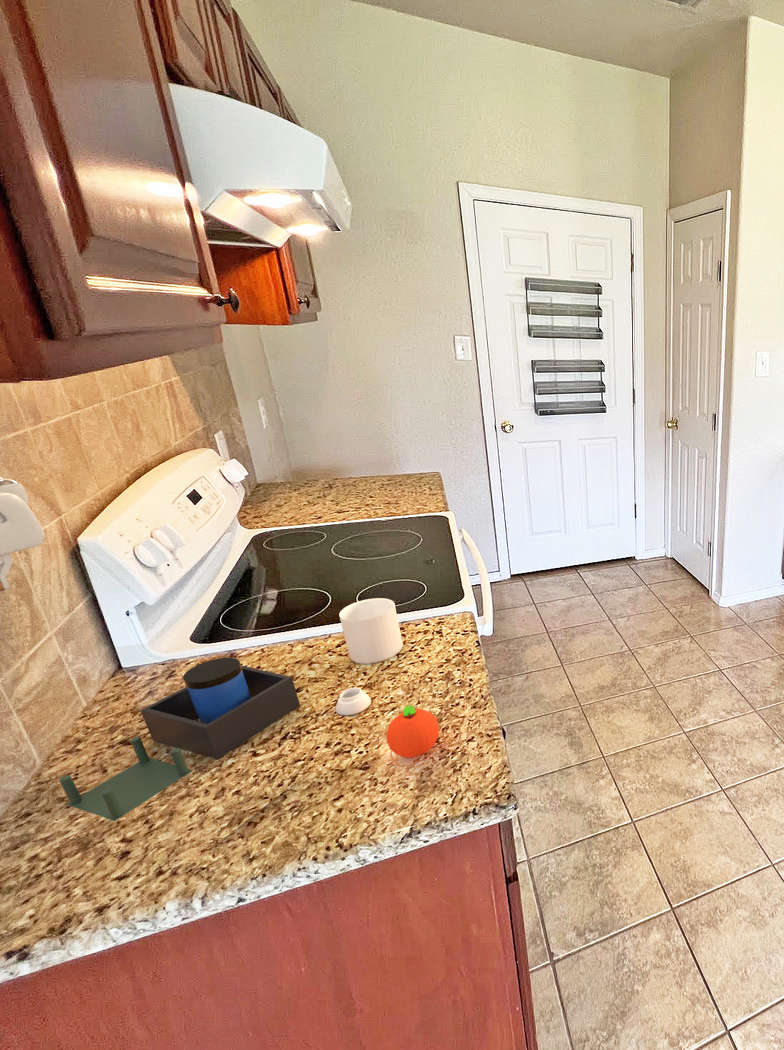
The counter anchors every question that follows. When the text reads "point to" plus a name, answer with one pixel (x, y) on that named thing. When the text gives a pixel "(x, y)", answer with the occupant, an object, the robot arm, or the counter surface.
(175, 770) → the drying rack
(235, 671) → the travel mug
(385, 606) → the mug
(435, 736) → the clementine
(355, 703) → the small white bowl
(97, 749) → the counter surface
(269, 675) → the dark brown open bin
